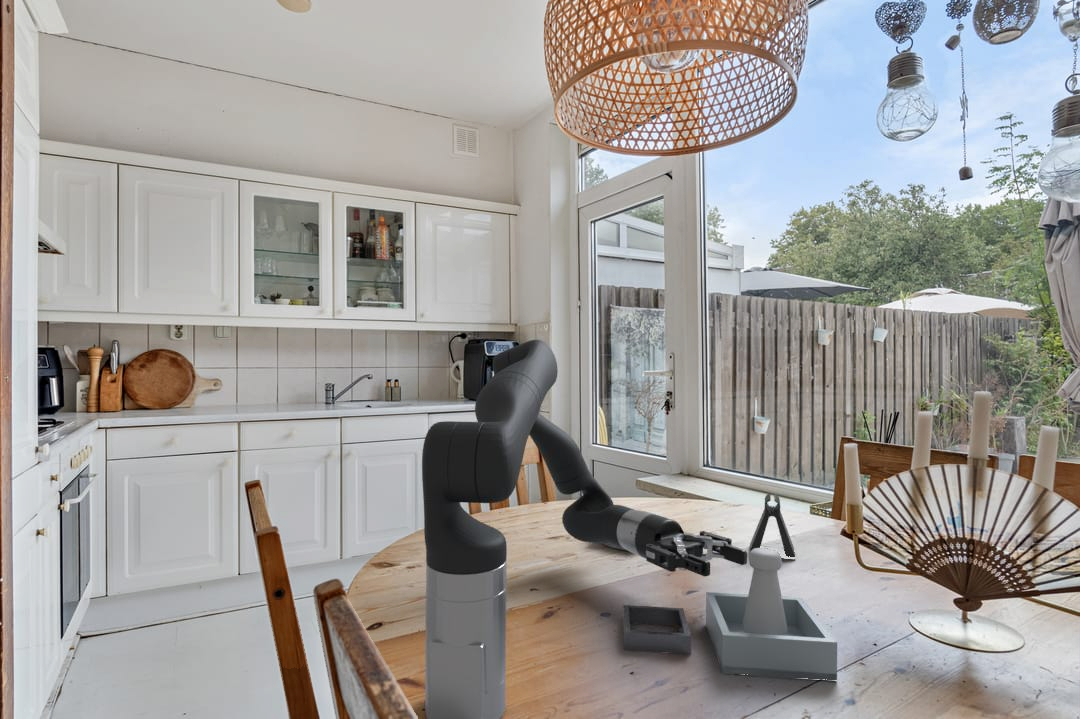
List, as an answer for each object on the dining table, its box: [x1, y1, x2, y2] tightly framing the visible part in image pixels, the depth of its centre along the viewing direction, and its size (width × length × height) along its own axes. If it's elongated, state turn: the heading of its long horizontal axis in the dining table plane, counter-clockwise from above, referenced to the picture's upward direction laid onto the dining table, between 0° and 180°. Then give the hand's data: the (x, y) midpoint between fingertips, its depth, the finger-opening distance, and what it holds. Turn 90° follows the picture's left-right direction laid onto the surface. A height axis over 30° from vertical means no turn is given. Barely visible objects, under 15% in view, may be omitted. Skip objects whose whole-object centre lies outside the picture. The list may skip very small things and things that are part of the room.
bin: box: [705, 591, 838, 681], centre depth 81 cm, size 14×14×5 cm
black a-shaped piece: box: [748, 492, 796, 557], centre depth 123 cm, size 9×6×12 cm, turn 68°
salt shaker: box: [743, 548, 787, 636], centre depth 82 cm, size 6×6×13 cm
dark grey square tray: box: [622, 604, 692, 655], centre depth 85 cm, size 9×9×2 cm
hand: (727, 563), depth 87 cm, fingers open, 8 cm apart
